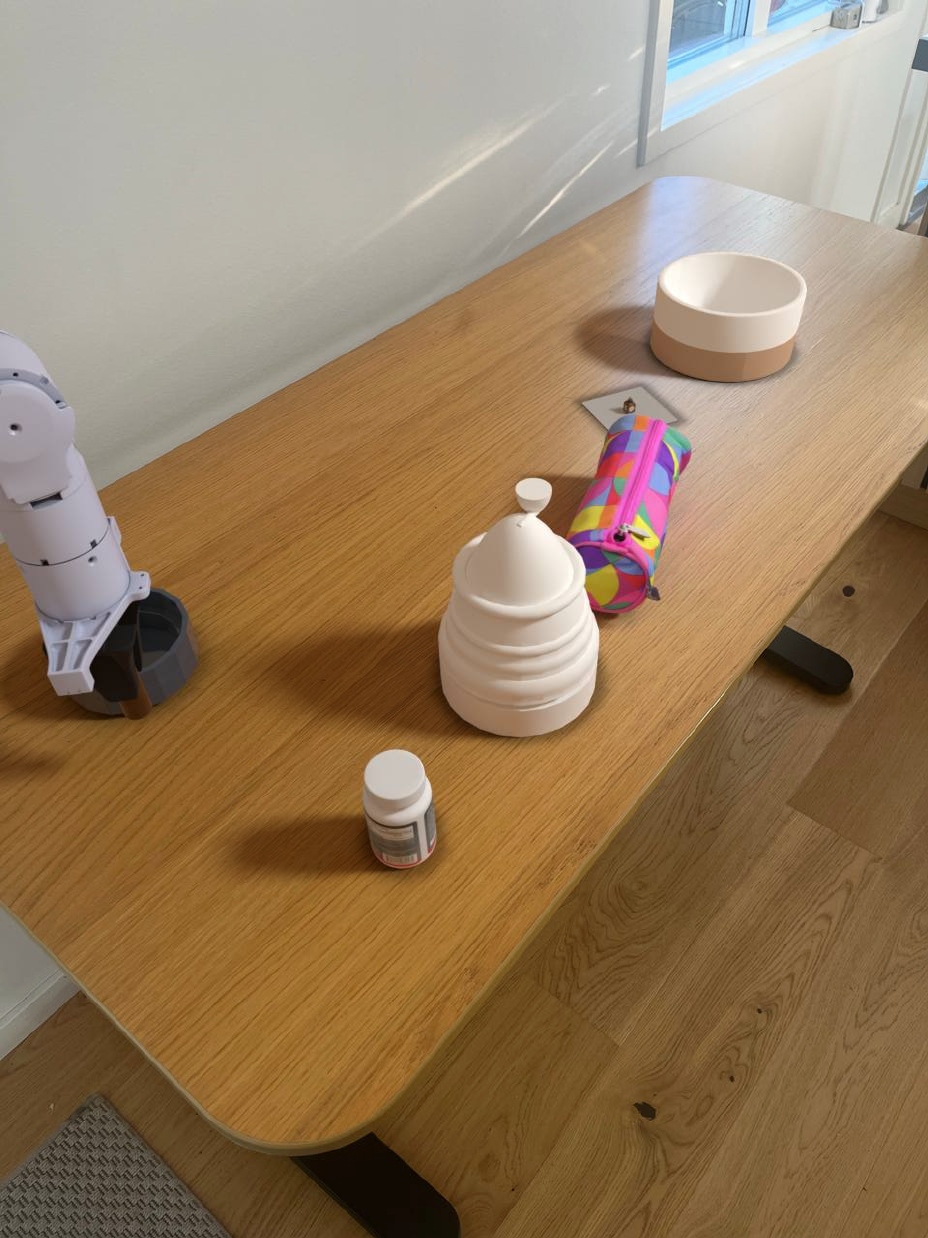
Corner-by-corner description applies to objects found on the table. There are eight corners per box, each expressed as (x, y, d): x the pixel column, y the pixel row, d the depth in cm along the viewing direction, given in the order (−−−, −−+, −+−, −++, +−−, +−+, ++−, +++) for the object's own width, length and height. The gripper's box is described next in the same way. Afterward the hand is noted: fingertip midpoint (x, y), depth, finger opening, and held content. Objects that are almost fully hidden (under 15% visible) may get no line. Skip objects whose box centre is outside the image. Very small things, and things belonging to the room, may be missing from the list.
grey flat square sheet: (641, 386, 107) (642, 372, 106) (678, 420, 102) (680, 405, 101) (581, 402, 105) (581, 388, 104) (615, 438, 100) (617, 423, 99)
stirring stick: (122, 722, 65) (76, 624, 58) (125, 701, 67) (81, 602, 60) (151, 718, 66) (108, 620, 58) (153, 697, 67) (112, 599, 60)
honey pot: (488, 602, 82) (485, 433, 69) (620, 653, 77) (643, 480, 65) (411, 698, 75) (392, 527, 62) (552, 761, 70) (563, 590, 57)
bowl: (729, 399, 105) (742, 331, 99) (620, 344, 114) (627, 279, 109) (820, 349, 112) (838, 283, 106) (711, 301, 122) (722, 238, 116)
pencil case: (654, 635, 79) (667, 556, 72) (547, 615, 81) (551, 536, 75) (686, 487, 93) (700, 411, 87) (595, 473, 95) (602, 398, 89)
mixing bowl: (58, 727, 74) (38, 691, 70) (78, 631, 81) (61, 594, 78) (196, 709, 74) (182, 672, 71) (203, 615, 82) (191, 578, 79)
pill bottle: (406, 801, 68) (397, 731, 62) (450, 840, 65) (445, 771, 59) (357, 841, 65) (342, 772, 59) (401, 883, 63) (390, 816, 57)
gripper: (111, 610, 50) (175, 759, 59) (140, 457, 60) (190, 605, 69) (-22, 626, 49) (64, 773, 59) (30, 469, 59) (95, 616, 69)
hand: (125, 683), depth 64 cm, fingers closed on stirring stick, 2 cm apart
